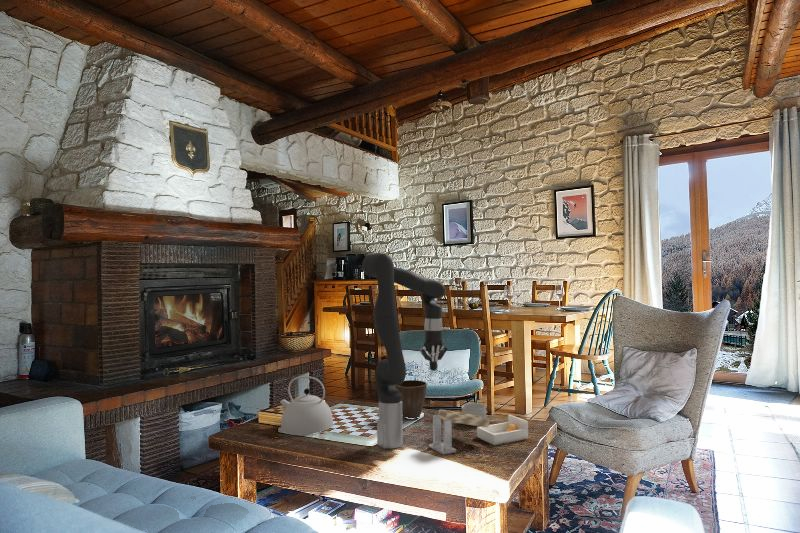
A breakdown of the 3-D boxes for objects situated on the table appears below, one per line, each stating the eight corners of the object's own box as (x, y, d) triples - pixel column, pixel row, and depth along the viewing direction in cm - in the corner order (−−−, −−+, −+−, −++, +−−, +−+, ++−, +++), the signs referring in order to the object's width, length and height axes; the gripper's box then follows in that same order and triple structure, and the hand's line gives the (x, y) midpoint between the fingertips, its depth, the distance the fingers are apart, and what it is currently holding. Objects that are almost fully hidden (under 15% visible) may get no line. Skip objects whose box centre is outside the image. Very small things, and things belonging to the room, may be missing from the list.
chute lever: (445, 421, 195) (447, 413, 196) (426, 411, 209) (427, 404, 209) (488, 427, 204) (489, 419, 204) (466, 418, 217) (467, 411, 218)
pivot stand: (442, 454, 192) (442, 422, 192) (429, 446, 201) (428, 415, 201) (456, 452, 195) (455, 419, 195) (442, 444, 204) (441, 413, 204)
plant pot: (412, 424, 231) (412, 388, 231) (388, 418, 241) (388, 383, 241) (433, 417, 242) (433, 382, 243) (409, 411, 252) (409, 378, 253)
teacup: (487, 426, 226) (487, 408, 226) (462, 427, 227) (462, 408, 227) (483, 418, 240) (483, 400, 240) (459, 418, 240) (459, 400, 241)
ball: (514, 423, 211) (520, 428, 213) (508, 421, 215) (514, 426, 216) (509, 432, 210) (515, 437, 211) (503, 429, 214) (509, 434, 215)
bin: (494, 445, 202) (494, 427, 202) (477, 437, 212) (476, 419, 212) (528, 438, 209) (528, 421, 210) (509, 431, 220) (509, 414, 220)
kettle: (265, 432, 222) (265, 379, 222) (292, 418, 244) (292, 370, 244) (319, 437, 215) (318, 382, 215) (341, 422, 236) (340, 372, 237)
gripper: (423, 330, 213) (423, 373, 212) (451, 329, 219) (451, 370, 218) (415, 328, 220) (415, 370, 219) (442, 327, 225) (442, 367, 225)
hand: (433, 370), depth 219 cm, fingers closed
